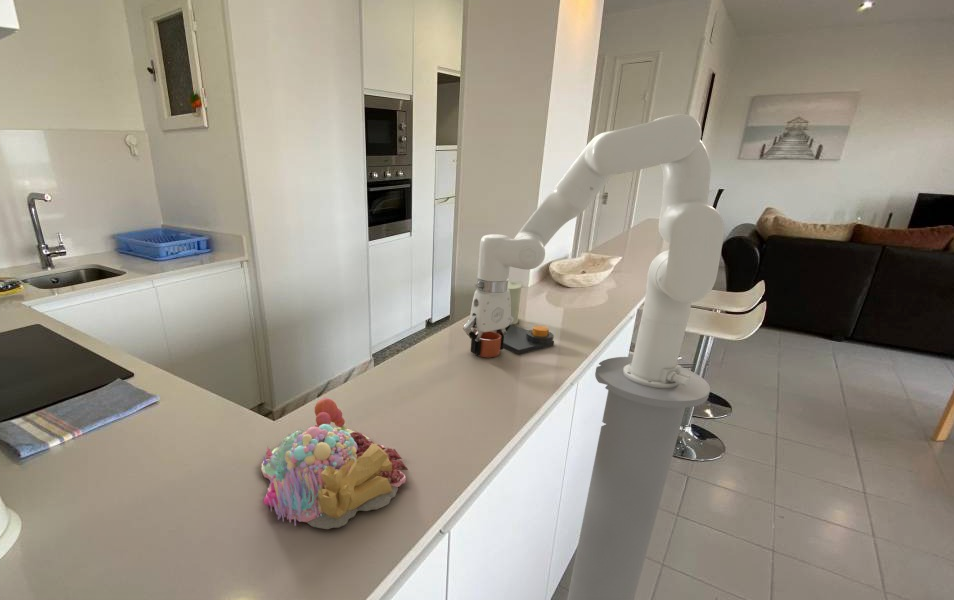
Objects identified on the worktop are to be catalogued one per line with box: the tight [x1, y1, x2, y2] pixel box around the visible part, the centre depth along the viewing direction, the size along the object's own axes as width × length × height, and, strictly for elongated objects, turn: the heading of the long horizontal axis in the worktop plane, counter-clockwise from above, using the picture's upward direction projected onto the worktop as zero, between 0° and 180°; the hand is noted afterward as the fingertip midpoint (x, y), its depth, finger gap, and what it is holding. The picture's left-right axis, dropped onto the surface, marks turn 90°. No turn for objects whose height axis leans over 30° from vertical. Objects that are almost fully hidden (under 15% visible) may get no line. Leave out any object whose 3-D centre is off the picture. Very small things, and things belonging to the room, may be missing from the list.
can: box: [507, 280, 523, 325], centre depth 149 cm, size 9×9×12 cm
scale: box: [492, 324, 555, 356], centre depth 134 cm, size 16×14×3 cm
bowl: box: [476, 331, 501, 358], centre depth 125 cm, size 7×7×5 cm
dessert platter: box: [260, 397, 408, 530], centre depth 77 cm, size 25×24×9 cm
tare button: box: [532, 325, 549, 337], centre depth 131 cm, size 4×4×2 cm
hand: (486, 350), depth 126 cm, fingers closed on bowl, 6 cm apart
